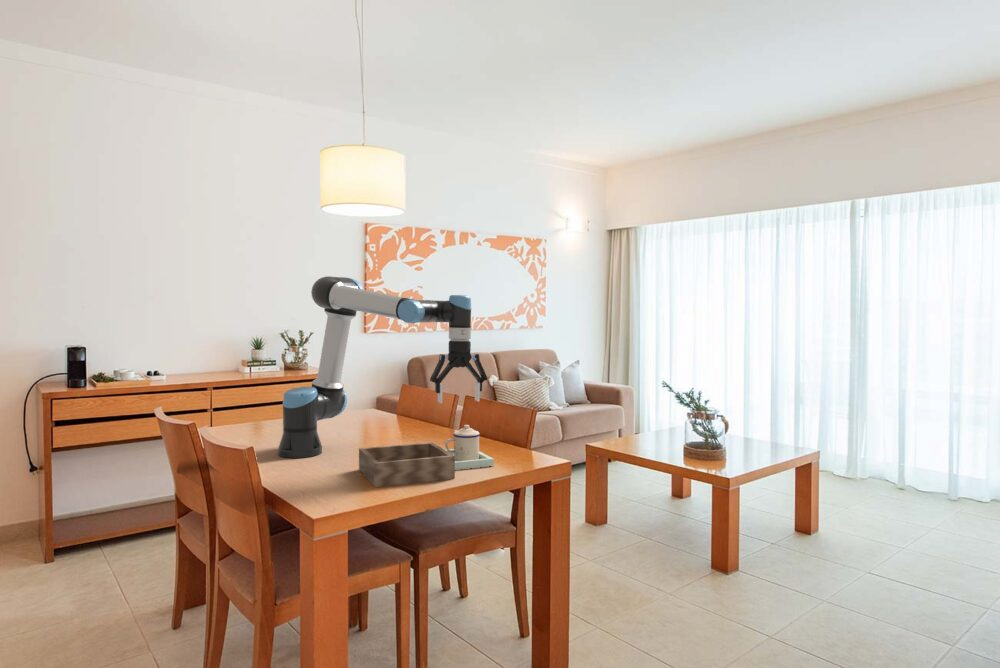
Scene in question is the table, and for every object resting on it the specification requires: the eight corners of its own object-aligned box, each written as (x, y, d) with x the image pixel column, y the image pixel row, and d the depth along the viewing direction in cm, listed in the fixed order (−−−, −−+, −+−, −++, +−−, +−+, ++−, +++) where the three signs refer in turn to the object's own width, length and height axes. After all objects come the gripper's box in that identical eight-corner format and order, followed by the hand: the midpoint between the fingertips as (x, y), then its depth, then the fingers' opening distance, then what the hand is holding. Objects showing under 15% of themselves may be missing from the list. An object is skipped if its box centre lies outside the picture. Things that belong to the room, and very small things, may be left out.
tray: (448, 470, 206) (448, 463, 206) (430, 458, 223) (430, 451, 223) (493, 466, 212) (493, 458, 212) (472, 454, 230) (472, 447, 230)
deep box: (374, 487, 186) (374, 463, 186) (358, 469, 206) (358, 448, 206) (454, 478, 196) (454, 456, 196) (432, 462, 216) (432, 442, 216)
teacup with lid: (475, 455, 224) (475, 422, 224) (482, 461, 215) (483, 427, 215) (442, 457, 220) (442, 423, 220) (448, 463, 212) (448, 428, 211)
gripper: (428, 341, 208) (427, 405, 209) (497, 340, 218) (496, 401, 219) (421, 339, 215) (420, 401, 216) (488, 339, 225) (487, 398, 226)
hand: (458, 401), depth 217 cm, fingers open, 13 cm apart
